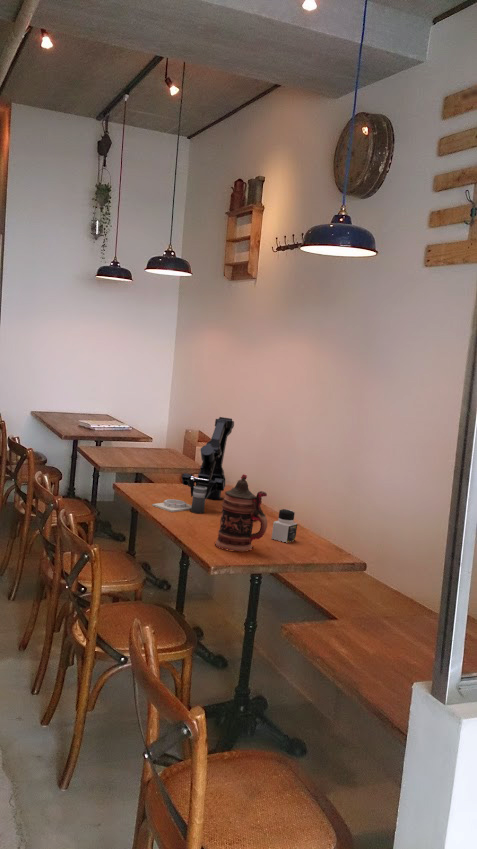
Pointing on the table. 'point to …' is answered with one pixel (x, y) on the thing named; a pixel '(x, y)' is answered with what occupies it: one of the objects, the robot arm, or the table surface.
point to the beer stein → (240, 518)
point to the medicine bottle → (284, 526)
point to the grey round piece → (198, 499)
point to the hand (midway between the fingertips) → (198, 497)
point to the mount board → (160, 505)
